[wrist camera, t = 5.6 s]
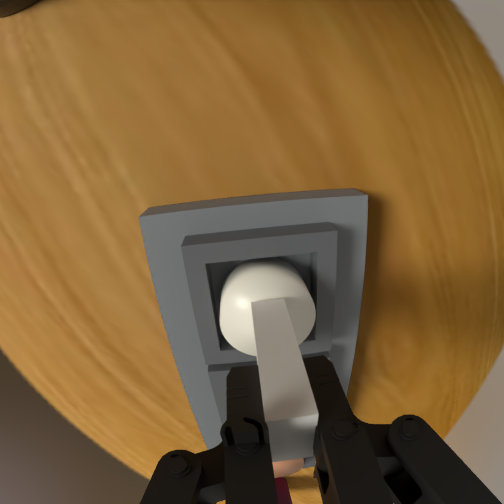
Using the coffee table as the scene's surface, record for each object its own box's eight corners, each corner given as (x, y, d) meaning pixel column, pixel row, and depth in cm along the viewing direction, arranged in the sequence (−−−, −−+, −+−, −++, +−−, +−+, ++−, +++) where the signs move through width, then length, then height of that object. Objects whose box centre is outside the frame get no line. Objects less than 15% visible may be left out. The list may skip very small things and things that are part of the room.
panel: (148, 207, 16) (129, 225, 13) (354, 188, 17) (380, 201, 13) (216, 454, 26) (216, 481, 23) (328, 441, 26) (335, 466, 23)
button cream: (215, 261, 15) (213, 283, 13) (304, 252, 15) (316, 272, 13) (226, 333, 17) (226, 360, 15) (304, 324, 17) (314, 350, 15)
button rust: (245, 436, 21) (247, 459, 19) (300, 429, 21) (305, 452, 19) (250, 459, 23) (252, 480, 21) (298, 453, 23) (303, 473, 21)
